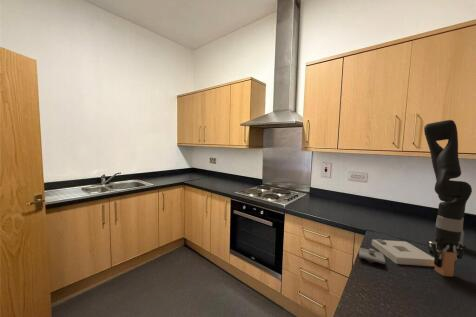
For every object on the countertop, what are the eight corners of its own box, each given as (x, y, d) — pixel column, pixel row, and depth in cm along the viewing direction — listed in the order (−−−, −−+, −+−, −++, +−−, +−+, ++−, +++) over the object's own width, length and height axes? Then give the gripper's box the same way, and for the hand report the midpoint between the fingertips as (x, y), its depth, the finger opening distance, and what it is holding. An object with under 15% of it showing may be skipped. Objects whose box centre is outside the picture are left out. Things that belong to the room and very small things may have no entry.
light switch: (382, 258, 96) (383, 248, 96) (385, 268, 87) (386, 257, 87) (358, 252, 101) (359, 242, 100) (358, 261, 92) (359, 250, 92)
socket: (405, 247, 109) (406, 240, 109) (437, 266, 91) (438, 258, 91) (371, 244, 109) (372, 238, 109) (396, 263, 92) (396, 255, 91)
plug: (443, 270, 88) (446, 243, 87) (453, 276, 84) (456, 248, 83) (434, 270, 88) (437, 243, 87) (443, 275, 84) (446, 247, 83)
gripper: (456, 225, 88) (452, 263, 89) (422, 223, 89) (419, 260, 90) (476, 232, 81) (471, 273, 82) (439, 230, 81) (434, 271, 82)
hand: (444, 266), depth 86 cm, fingers open, 4 cm apart
